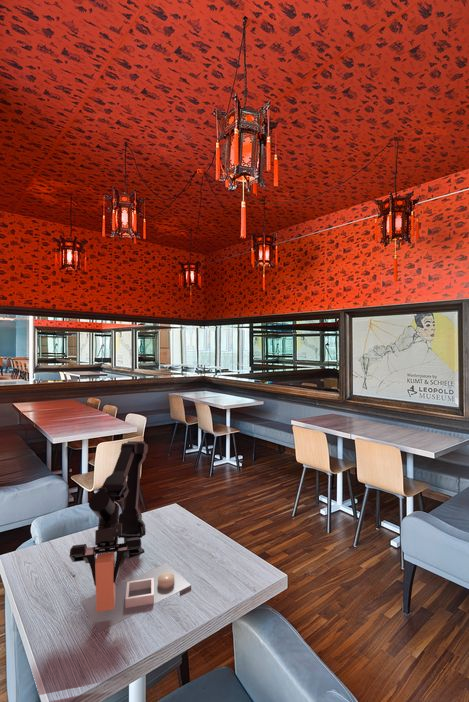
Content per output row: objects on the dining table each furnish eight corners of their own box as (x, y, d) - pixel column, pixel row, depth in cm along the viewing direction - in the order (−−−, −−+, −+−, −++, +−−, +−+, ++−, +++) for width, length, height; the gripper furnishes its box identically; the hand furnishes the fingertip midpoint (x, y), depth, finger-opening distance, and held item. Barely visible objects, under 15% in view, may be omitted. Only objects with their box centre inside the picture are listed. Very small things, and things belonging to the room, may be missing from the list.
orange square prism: (98, 600, 102) (97, 554, 102) (115, 598, 103) (114, 552, 103) (96, 612, 98) (95, 563, 97) (114, 609, 99) (112, 561, 98)
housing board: (80, 604, 107) (80, 592, 107) (166, 565, 125) (166, 555, 125) (99, 636, 95) (98, 622, 95) (191, 588, 113) (190, 577, 113)
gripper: (69, 517, 102) (61, 582, 91) (140, 509, 106) (139, 570, 95) (76, 531, 109) (69, 592, 99) (141, 523, 114) (141, 581, 103)
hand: (105, 584), depth 99 cm, fingers closed on orange square prism, 4 cm apart
